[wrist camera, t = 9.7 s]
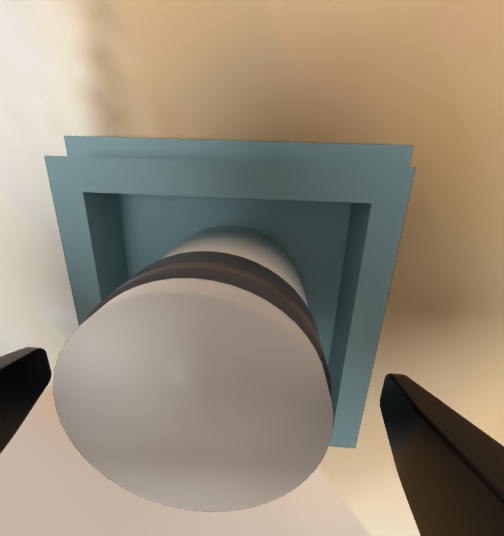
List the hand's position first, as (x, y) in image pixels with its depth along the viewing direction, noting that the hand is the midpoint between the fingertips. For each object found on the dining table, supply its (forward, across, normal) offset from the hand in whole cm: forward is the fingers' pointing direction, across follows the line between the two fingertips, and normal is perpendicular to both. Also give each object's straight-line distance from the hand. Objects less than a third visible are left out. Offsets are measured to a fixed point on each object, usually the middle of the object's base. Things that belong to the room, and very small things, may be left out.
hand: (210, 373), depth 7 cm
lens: (+4, 0, 0) cm, 5 cm away
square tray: (+6, 0, 0) cm, 6 cm away
